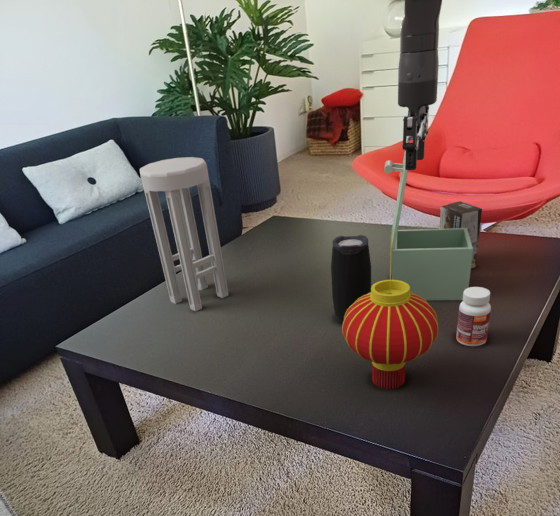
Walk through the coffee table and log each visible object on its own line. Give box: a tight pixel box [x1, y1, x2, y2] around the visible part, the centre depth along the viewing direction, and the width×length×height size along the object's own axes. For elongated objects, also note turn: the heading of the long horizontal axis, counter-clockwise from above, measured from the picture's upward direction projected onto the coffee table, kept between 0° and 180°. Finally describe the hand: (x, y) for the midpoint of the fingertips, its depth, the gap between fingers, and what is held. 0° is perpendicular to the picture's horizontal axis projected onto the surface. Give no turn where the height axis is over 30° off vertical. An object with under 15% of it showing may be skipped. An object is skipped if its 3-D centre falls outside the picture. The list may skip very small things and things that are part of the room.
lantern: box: [341, 231, 439, 390], centre depth 94 cm, size 17×17×30 cm
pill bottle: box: [455, 286, 492, 347], centre depth 109 cm, size 6×6×11 cm
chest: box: [391, 228, 473, 301], centre depth 130 cm, size 18×14×13 cm
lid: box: [383, 150, 409, 250], centre depth 122 cm, size 19×14×5 cm
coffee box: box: [438, 200, 483, 269], centre depth 139 cm, size 9×6×16 cm
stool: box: [139, 156, 230, 312], centre depth 132 cm, size 16×16×35 cm
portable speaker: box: [330, 234, 372, 325], centre depth 119 cm, size 9×9×20 cm
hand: (414, 164), depth 111 cm, fingers open, 8 cm apart
